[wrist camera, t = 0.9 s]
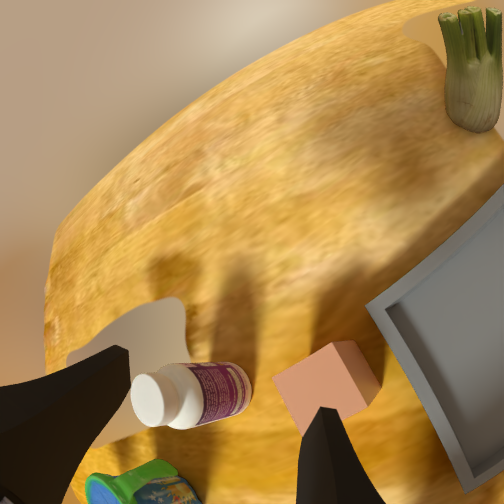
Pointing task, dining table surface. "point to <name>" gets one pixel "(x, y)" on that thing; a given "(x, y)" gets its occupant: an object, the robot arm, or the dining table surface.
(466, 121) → the fennel bulb
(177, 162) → the dining table surface
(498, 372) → the grey bin
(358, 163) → the dining table surface
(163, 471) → the snack cup
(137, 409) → the pill bottle
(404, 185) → the dining table surface
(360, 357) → the terracotta block
